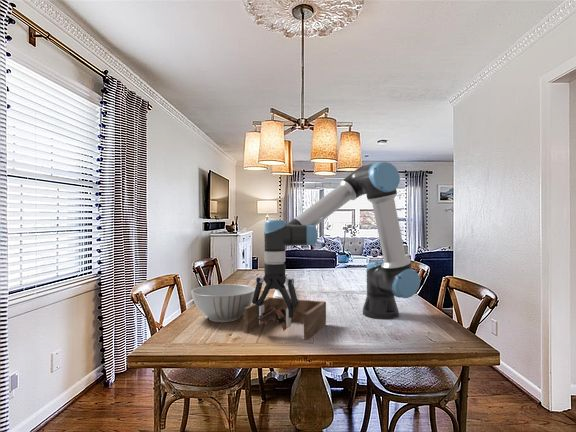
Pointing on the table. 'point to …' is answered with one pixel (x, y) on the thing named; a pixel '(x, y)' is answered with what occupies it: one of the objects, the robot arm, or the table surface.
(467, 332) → the table surface
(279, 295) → the honey pot
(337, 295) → the table surface
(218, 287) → the decorative bowl
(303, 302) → the walnut u-shaped frame
